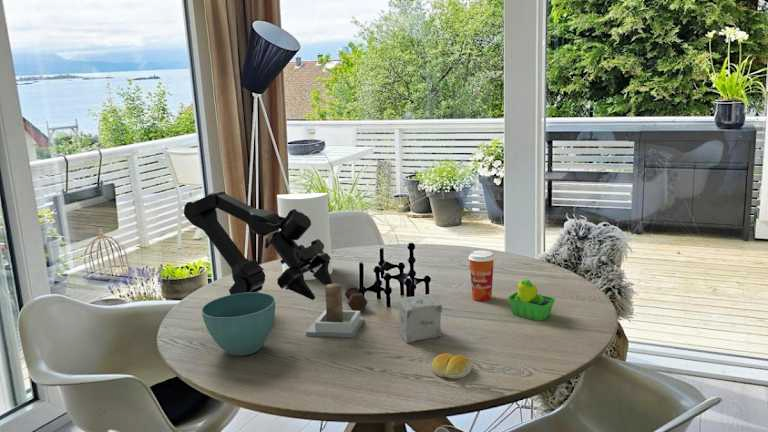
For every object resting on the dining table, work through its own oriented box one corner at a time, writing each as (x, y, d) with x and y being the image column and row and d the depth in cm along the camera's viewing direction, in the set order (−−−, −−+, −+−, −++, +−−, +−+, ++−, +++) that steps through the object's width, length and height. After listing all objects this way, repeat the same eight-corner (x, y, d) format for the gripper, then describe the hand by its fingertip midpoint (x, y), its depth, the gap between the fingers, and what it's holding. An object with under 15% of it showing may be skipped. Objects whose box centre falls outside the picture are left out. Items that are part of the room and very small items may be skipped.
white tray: (306, 335, 182) (305, 323, 182) (319, 319, 194) (318, 307, 193) (353, 337, 180) (352, 324, 179) (363, 320, 191) (363, 309, 190)
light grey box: (407, 345, 173) (406, 306, 171) (397, 333, 181) (396, 296, 179) (443, 339, 176) (442, 301, 174) (432, 328, 184) (431, 291, 181)
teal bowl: (245, 369, 162) (239, 321, 160) (192, 357, 172) (185, 311, 169) (294, 341, 177) (289, 296, 175) (242, 331, 187) (237, 289, 184)
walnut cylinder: (327, 328, 184) (325, 289, 181) (326, 322, 188) (324, 284, 185) (344, 326, 184) (342, 288, 182) (342, 320, 189) (340, 282, 186)
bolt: (353, 300, 214) (361, 315, 199) (339, 294, 212) (345, 309, 198) (361, 284, 213) (370, 298, 199) (347, 278, 212) (354, 291, 197)
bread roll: (441, 361, 163) (441, 345, 163) (476, 368, 159) (475, 352, 158) (424, 374, 157) (424, 358, 156) (460, 383, 152) (459, 366, 151)
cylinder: (330, 279, 230) (325, 197, 224) (279, 281, 231) (272, 199, 225) (334, 264, 247) (329, 188, 241) (286, 266, 248) (281, 190, 242)
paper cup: (466, 301, 203) (465, 256, 200) (472, 293, 210) (472, 249, 207) (492, 303, 200) (491, 257, 197) (497, 295, 207) (497, 251, 204)
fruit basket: (556, 315, 189) (556, 276, 187) (539, 325, 183) (540, 284, 180) (520, 307, 197) (520, 269, 194) (503, 315, 190) (503, 277, 188)
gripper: (283, 240, 177) (321, 286, 174) (323, 224, 193) (358, 267, 190) (261, 266, 182) (297, 311, 179) (302, 248, 198) (335, 290, 195)
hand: (323, 293), depth 186 cm, fingers open, 9 cm apart
